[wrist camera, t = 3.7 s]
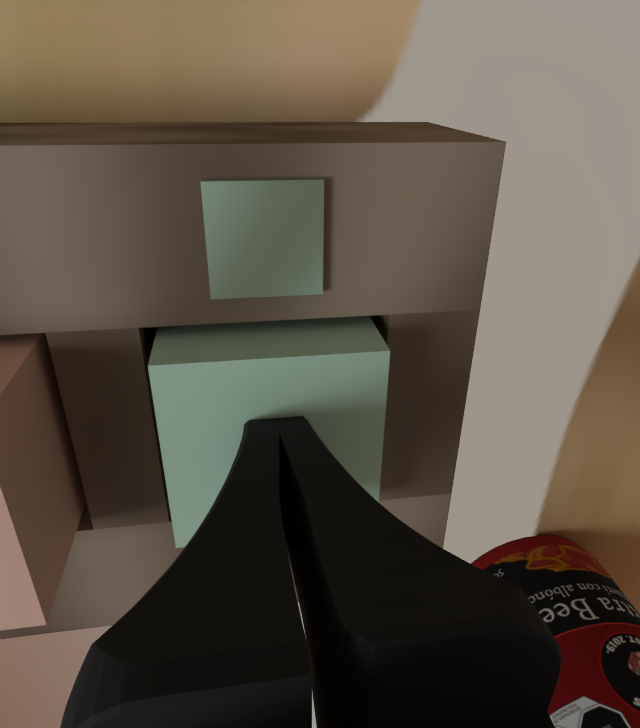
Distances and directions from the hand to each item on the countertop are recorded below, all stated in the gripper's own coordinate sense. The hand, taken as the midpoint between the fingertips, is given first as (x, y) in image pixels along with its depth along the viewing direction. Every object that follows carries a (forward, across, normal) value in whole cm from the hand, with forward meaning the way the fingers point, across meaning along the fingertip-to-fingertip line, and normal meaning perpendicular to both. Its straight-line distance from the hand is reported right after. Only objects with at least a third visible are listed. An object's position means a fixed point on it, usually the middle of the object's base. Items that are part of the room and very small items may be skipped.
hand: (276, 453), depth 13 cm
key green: (+4, 0, 0) cm, 4 cm away
